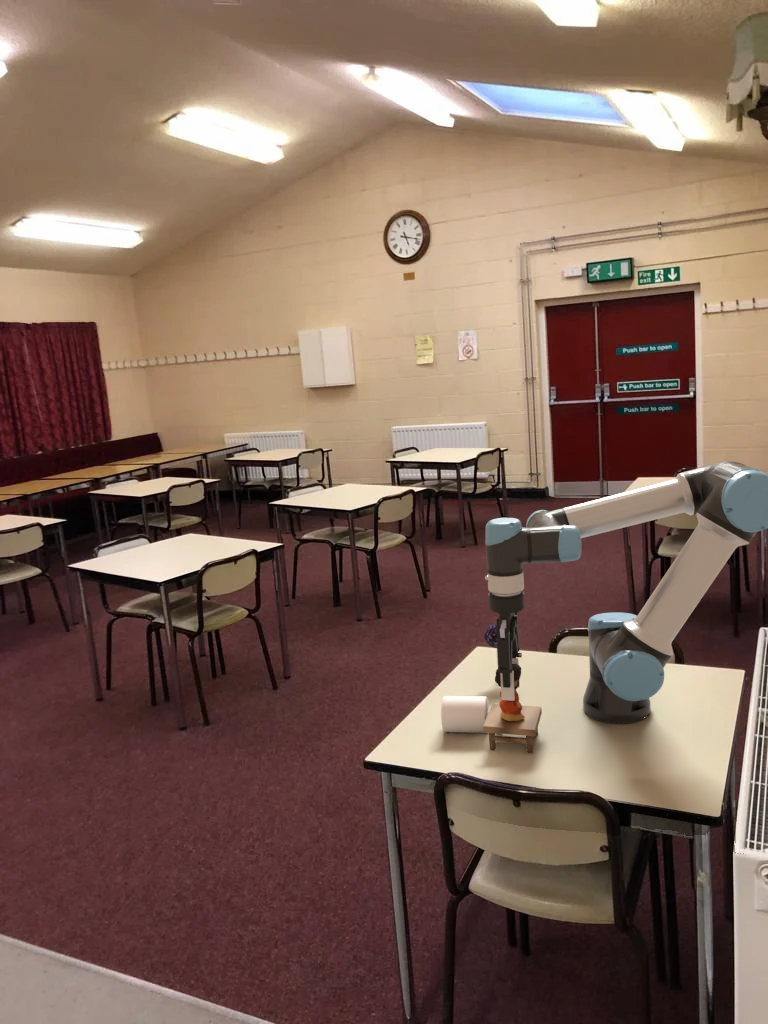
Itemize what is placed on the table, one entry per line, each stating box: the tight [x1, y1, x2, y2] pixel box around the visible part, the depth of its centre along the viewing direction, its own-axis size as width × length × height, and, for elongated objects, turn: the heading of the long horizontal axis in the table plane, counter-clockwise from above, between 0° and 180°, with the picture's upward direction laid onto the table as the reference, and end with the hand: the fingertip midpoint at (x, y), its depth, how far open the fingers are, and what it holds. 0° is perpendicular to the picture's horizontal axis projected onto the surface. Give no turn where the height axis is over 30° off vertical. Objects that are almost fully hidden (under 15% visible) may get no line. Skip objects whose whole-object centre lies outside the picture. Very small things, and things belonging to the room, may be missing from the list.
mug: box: [440, 695, 490, 734], centre depth 183 cm, size 12×10×8 cm
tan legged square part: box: [483, 703, 542, 755], centre depth 174 cm, size 11×11×6 cm
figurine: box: [494, 664, 525, 721], centre depth 172 cm, size 6×6×12 cm
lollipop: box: [483, 622, 498, 663], centre depth 207 cm, size 7×7×15 cm
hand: (510, 692), depth 172 cm, fingers open, 6 cm apart
